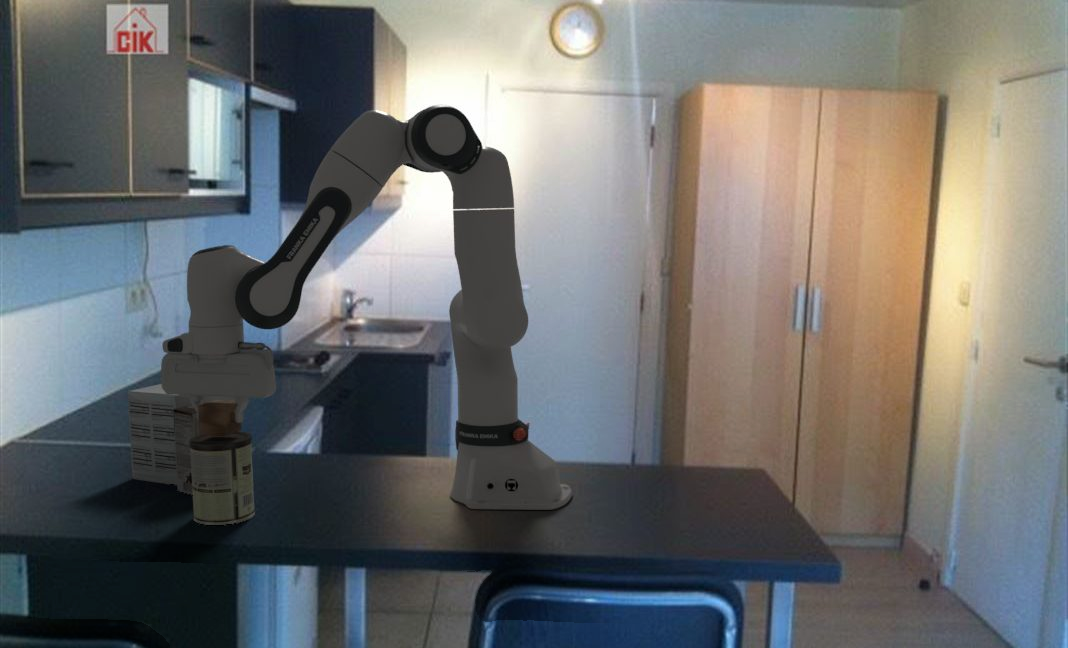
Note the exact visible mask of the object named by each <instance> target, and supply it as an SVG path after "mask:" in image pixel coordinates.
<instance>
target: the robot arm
mask: <svg viewBox="0 0 1068 648" xmlns="http://www.w3.org/2000/svg"><path fill="white" fill-rule="evenodd" d="M402 166H405V167H409V168H411V169H414V170H416V171H418V172H422V173H432V174H433V173H441V172H442V173H443V174H445V176H447V179H448V180H449V183H450V185H451V191H452V215H453V217H452V218H453V220H452V221H453V222H452V223H453V249H454V250H453V251H454V252H453V253H454V256H455V260H456V263H457V264H456V265H457V269H458V274H459V281H460V286H461V289H460V290H459V291H458V292H457V293H456V294H454V296H453V298H452V300H451V301H450V304H449V310H448V311H449V312H448V313H449V321H450V327H451V329H450V331H451V339H452V347H453V348H452V349H453V357H454V361H455V362H454V363H455V369H456V380H457V382H456V383H457V420H456V422H455V428H454V429H455V430H454V431H455V435H454V439H455V441H454V442H455V449H456V451H457V454H456V462H455V463H456V465H455V473H454V477H453V478H454V479H453V483H452V486H451V491H450V494H449V495H450V498H452V499H453V500H454V501H455V502H458V503H461V504H464V505H465V506H466V507H467V508H469V509H471V510H517V511H518V510H525V511H528V510H529V511H531V510H533V511H535V510H536V511H541V510H543V511H545V510H546V511H550V510H556V509H558V508H561V507H563V506H565V505H566V504H568V502H569V501H571V498H572V497H573V492H572V488H571V486H570V485H568V484H565V483H561V480H560V473H559V470H558V469H559V468H558V466H557V464H556V462H555V460H554V459H553V458H552V457H551V456H550V455H548V454H547V453H546V452H544V451H543V450H542V449H540V448H539V447H537V445H536V444H534V443H532V442H531V441H530V440H529V429H530V422H527V423H524V422H523V421H522V420H520V419H519V417H518V416H519V412H518V411H519V409H518V408H519V407H518V406H519V404H518V403H519V402H518V401H519V400H518V399H519V398H518V397H519V394H518V392H519V391H518V390H519V389H518V387H519V386H518V385H519V383H518V381H519V380H518V376H517V372H516V368H515V365H514V364H515V363H514V359H513V353H512V347H513V346H515V345H517V344H518V343H519V342H521V340H522V339H523V338H524V336H525V334H526V332H527V330H528V327H529V314H528V311H527V309H526V306H525V301H524V293H523V287H522V282H521V281H522V280H521V275H520V271H519V270H520V269H519V265H518V260H517V258H518V257H517V252H516V251H517V250H516V229H515V228H516V224H515V221H516V220H515V198H514V189H513V188H514V187H513V180H512V174H511V170H510V166H509V161H508V159H507V157H506V155H505V154H504V153H503V152H502V151H500V150H498V149H497V148H494V147H490V146H486V145H485V146H483V143H482V141H481V140H480V138H479V137H478V135H477V133H476V131H475V130H474V128H473V125H472V124H471V122H470V121H469V119H468V117H467V115H465V114H464V113H463V112H462V111H461V110H459V109H458V108H456V107H454V106H450V105H447V104H435V105H431V106H429V107H426V108H424V109H422V110H420V111H419V112H417V113H416V114H414V116H412V117H411V118H409V119H408V120H405V121H402V120H399V119H396V118H395V117H394V116H392V115H391V114H389V113H388V112H385V111H381V110H378V109H370V110H367V111H364V112H363V113H361V115H359V116H358V117H357V118H356V119H355V120H354V121H353V122H352V123H351V124H350V125H349V126H348V127H347V128H346V129H345V131H344V132H343V133H342V134H341V135H340V136H339V137H338V138H337V140H336V141H335V142H334V144H333V145H332V146H331V147H330V148H329V150H328V151H327V153H326V155H325V156H324V158H323V159H322V161H321V162H320V164H319V166H318V168H317V170H316V172H315V174H314V177H313V178H312V180H311V183H310V187H309V190H308V196H307V199H306V203H305V206H304V209H303V211H302V213H301V215H300V217H299V219H298V220H297V222H296V224H295V225H294V226H293V228H292V229H290V230H291V231H290V232H289V233H288V234H287V236H286V237H285V238H284V241H283V242H282V243H281V245H280V246H279V248H278V249H277V250H276V252H274V254H273V255H272V256H271V257H270V258H269V259H268V260H267V261H263V260H260V259H257V258H256V257H253V256H251V255H248V254H246V253H245V252H243V251H241V250H240V249H238V248H237V247H236V246H234V245H231V244H223V245H218V246H213V247H209V248H208V247H207V248H203V249H199V250H197V251H196V252H195V253H194V254H192V256H191V257H189V260H188V264H187V272H186V296H187V297H186V298H187V302H188V305H189V310H190V313H189V314H190V316H189V319H188V332H184V333H182V334H180V335H177V336H175V337H171V338H168V339H166V340H164V341H163V342H162V351H163V352H164V353H165V355H163V357H162V359H161V363H160V384H161V385H162V389H163V390H164V391H165V393H166V394H178V395H190V402H191V404H192V405H193V407H194V409H195V410H196V411H197V420H198V421H199V417H198V406H199V405H201V404H203V402H202V400H203V399H204V396H224V397H235V403H239V404H238V406H237V408H236V410H235V411H234V412H231V413H230V417H231V422H232V423H240V422H241V423H242V422H244V418H245V417H244V411H246V408H247V406H248V405H249V403H250V398H251V399H265V398H269V397H272V396H273V395H274V393H275V392H276V391H277V381H276V380H277V378H276V372H275V367H274V352H273V350H272V349H271V347H269V345H266V344H265V343H264V342H249V341H247V342H246V341H245V335H244V321H245V322H246V323H247V324H249V325H250V326H252V327H254V328H257V329H261V330H275V329H278V328H281V327H283V326H286V325H287V324H288V323H289V322H291V321H292V320H293V319H294V317H295V316H296V314H297V312H298V311H299V307H300V303H301V299H302V294H303V293H302V292H303V288H304V284H305V283H306V280H307V278H308V277H309V275H310V273H311V272H312V271H313V269H314V267H315V266H316V264H317V263H318V262H319V260H320V259H321V257H322V256H323V254H324V253H325V252H326V250H327V248H328V247H329V246H330V244H331V243H332V241H333V240H334V239H335V237H336V236H337V235H338V234H339V233H340V232H341V231H342V230H343V229H344V228H346V227H347V226H348V225H350V224H351V223H352V222H353V221H355V219H357V218H358V217H359V216H360V215H361V214H362V213H363V212H364V211H365V210H366V209H367V208H369V206H370V205H371V203H373V202H374V201H375V199H376V198H377V197H378V195H379V194H380V193H381V191H383V188H384V187H385V186H386V184H387V182H388V181H389V180H390V178H391V177H392V176H393V174H394V173H395V172H396V171H397V170H398V169H399V168H400V167H402Z"/></svg>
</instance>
